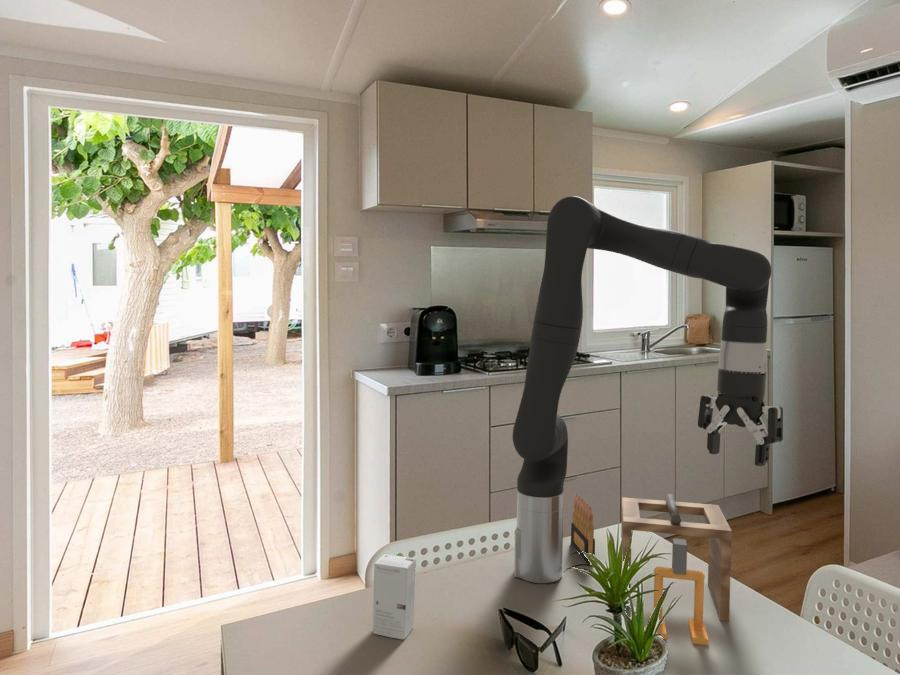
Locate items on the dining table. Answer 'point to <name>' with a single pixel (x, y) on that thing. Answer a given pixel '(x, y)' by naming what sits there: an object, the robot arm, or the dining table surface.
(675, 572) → the orange footed arch
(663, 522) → the wooden frame stand
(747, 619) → the dining table surface
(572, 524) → the ammunition clip
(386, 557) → the skincare box
